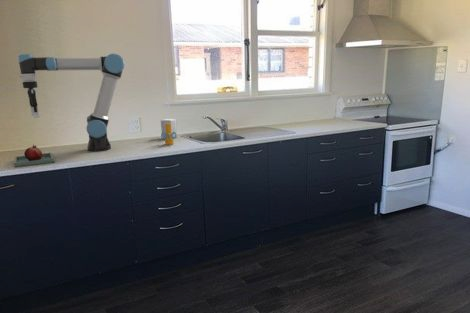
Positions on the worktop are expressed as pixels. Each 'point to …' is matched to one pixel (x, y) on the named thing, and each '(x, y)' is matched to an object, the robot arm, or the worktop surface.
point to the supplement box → (173, 126)
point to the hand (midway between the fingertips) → (35, 116)
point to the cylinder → (168, 135)
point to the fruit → (33, 153)
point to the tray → (23, 161)
